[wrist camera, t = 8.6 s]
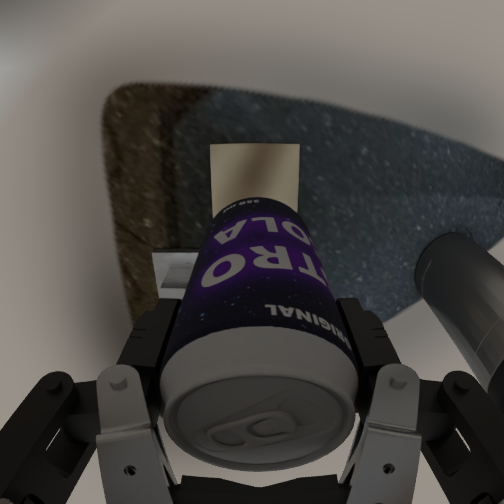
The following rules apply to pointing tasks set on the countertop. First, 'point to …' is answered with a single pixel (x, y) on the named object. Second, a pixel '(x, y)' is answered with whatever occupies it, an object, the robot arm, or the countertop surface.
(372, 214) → the countertop surface
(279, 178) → the birch pad
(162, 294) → the sleeve
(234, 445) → the beverage can
